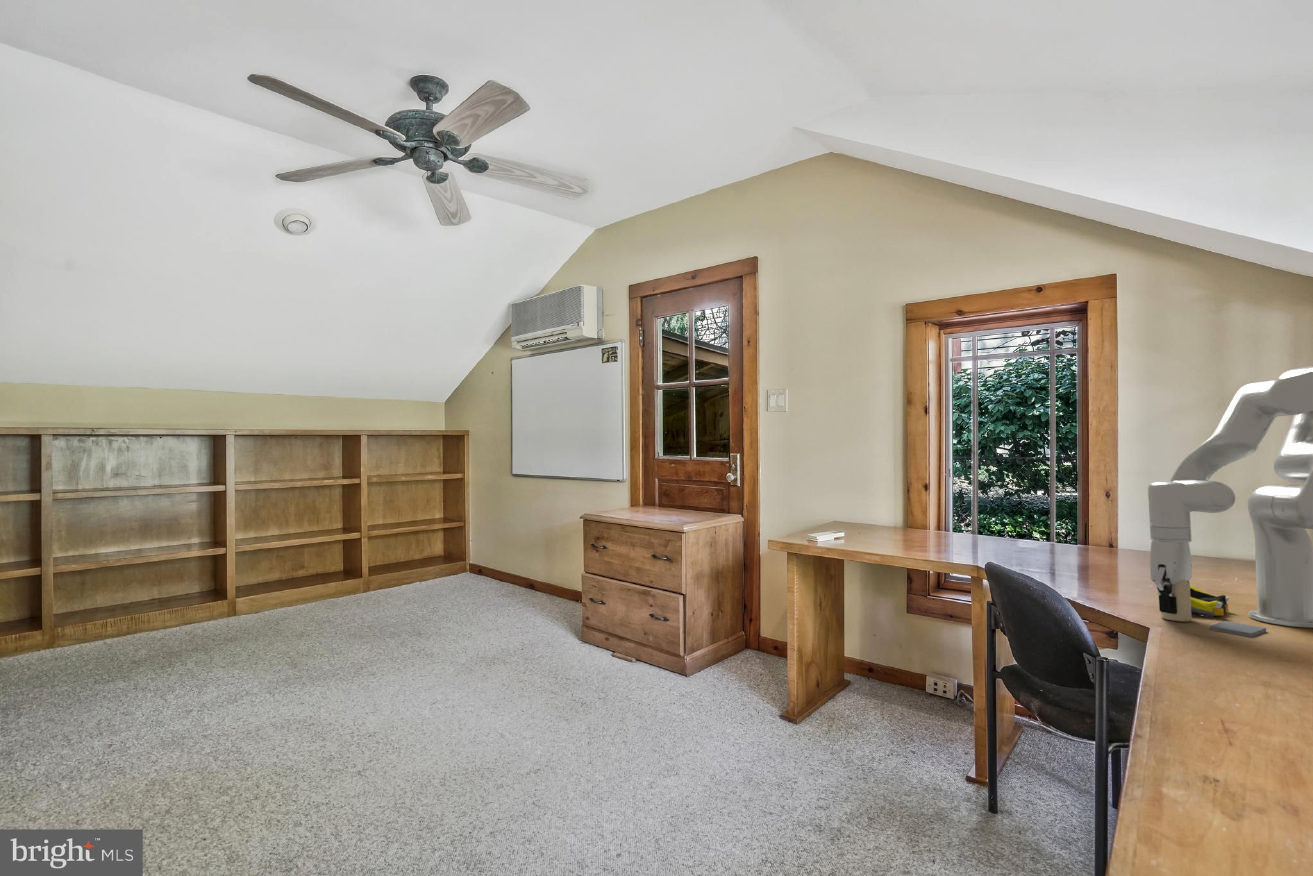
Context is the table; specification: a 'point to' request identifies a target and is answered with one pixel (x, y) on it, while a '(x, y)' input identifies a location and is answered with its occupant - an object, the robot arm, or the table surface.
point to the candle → (1180, 602)
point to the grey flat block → (1238, 628)
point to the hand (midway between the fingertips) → (1174, 610)
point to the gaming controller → (1207, 603)
